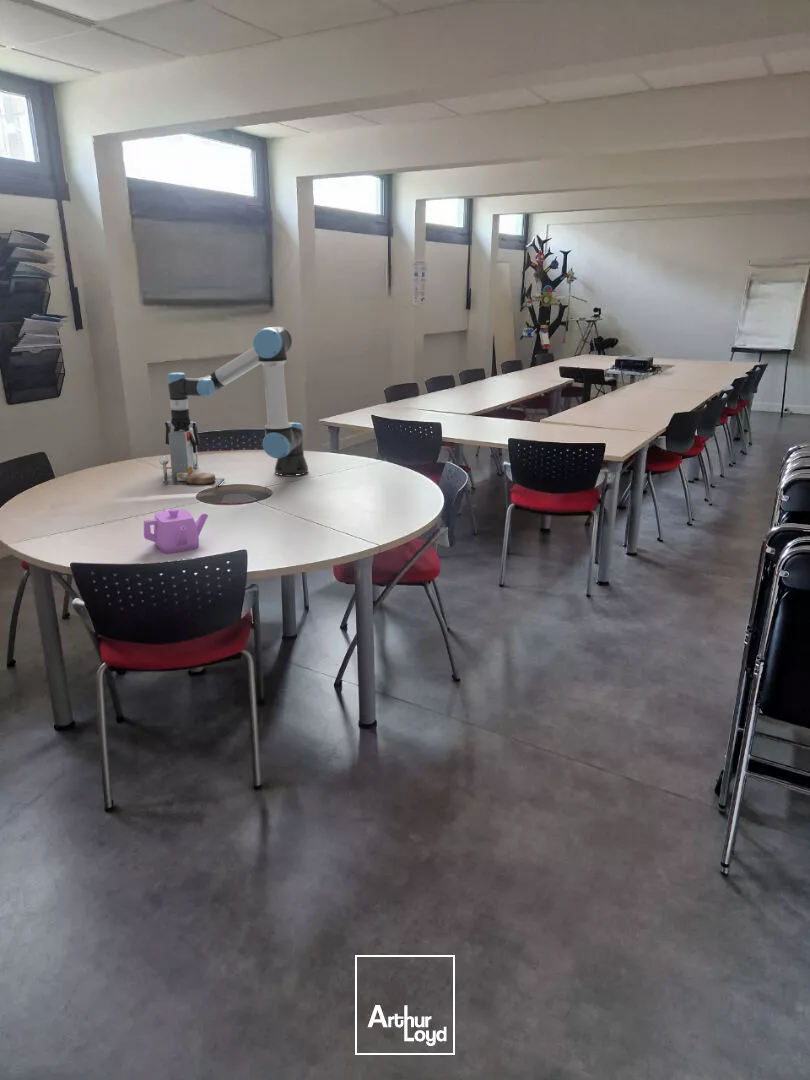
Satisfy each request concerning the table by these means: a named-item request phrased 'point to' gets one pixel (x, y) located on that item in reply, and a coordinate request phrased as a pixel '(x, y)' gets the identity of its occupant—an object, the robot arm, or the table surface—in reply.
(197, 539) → the teakettle
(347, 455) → the table surface
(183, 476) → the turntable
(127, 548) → the table surface
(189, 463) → the hard drive box
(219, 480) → the dark grey rectangular plate
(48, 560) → the table surface
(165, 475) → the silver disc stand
